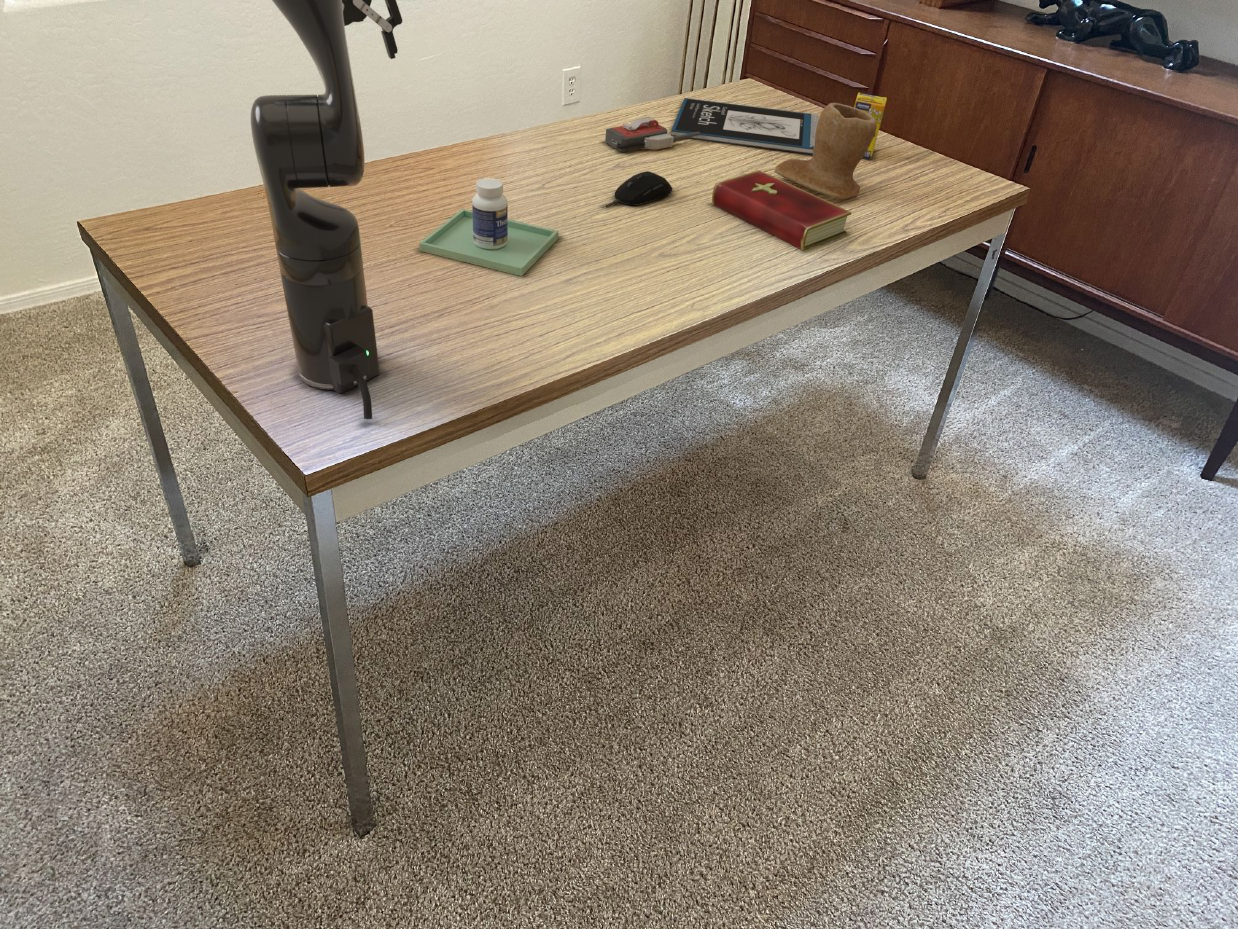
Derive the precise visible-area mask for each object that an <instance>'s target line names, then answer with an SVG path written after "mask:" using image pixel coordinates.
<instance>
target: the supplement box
mask: <svg viewBox="0 0 1238 929" xmlns="http://www.w3.org/2000/svg"><path fill="white" fill-rule="evenodd" d="M887 101H888V97H886V96H883V97H882V96H877V95H873V94H867V93H862V92H857V95H856V99H855V102H854V105H853V107H854V108H857V109H859V110H862V111H864V112H867V113H868V114H870V115H872V116H873V117H874V118H875V120H876V123H877V128H876V132H875V135H874V137H873V140H872V142H871V144H870V146H869V148H868V150H867V151H866V153H865V155H864V156H863V157H862V159H865V160H868V161H871V160H872V156H873V152H874V150H875V146H876V142H877V138H878V134H879V131H880V128H881V124H882V120H883V117H884V111H885V108H886V104H887Z"/></svg>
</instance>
